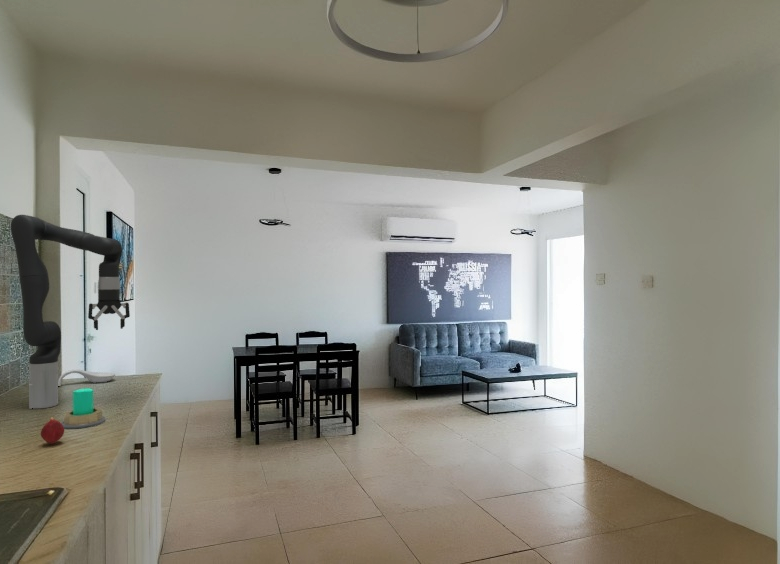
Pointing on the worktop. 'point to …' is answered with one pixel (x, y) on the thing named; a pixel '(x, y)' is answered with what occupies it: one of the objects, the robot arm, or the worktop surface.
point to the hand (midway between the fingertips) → (109, 329)
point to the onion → (52, 431)
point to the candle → (82, 401)
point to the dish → (83, 424)
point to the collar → (82, 417)
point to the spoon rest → (89, 376)
